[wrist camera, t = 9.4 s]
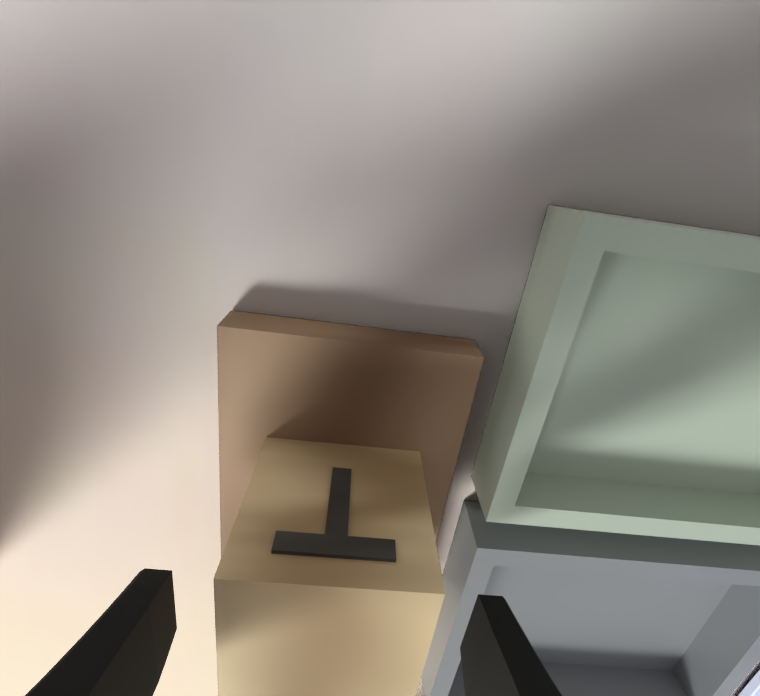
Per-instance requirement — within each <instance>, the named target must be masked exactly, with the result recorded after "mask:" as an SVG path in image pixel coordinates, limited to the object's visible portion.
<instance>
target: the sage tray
mask: <svg viewBox="0 0 760 696" xmlns="http://www.w3.org/2000/svg"><path fill="white" fill-rule="evenodd" d="M471 477H472V480H473V483H474V486H475V489H476V493H477V496H478V499H479V502H480V505H481V508H482V511H483V514H484V517H485V520H486V522H497V523H508V524H519V525H531V526H542V527H554V528H565V529H577V530H588V531H600V532H611V533H623V534H634V535H646V536H657V537H669V538H680V539H692V540H703V541H715V542H726V543H738V544H749V545H760V236H755V235H748V234H741V233H735V232H728V231H721V230H715V229H708V228H701V227H695V226H688V225H681V224H674V223H668V222H661V221H654V220H648V219H641V218H634V217H627V216H621V215H614V214H607V213H601V212H594V211H587V210H581V209H574V208H567V207H560V206H554V205H548V209H547V212H546V216H545V219H544V223H543V226H542V230H541V233H540V237H539V240H538V244H537V247H536V251H535V254H534V258H533V261H532V265H531V268H530V272H529V275H528V279H527V282H526V286H525V289H524V293H523V296H522V300H521V303H520V306H519V310H518V313H517V317H516V320H515V324H514V327H513V331H512V334H511V338H510V341H509V345H508V348H507V352H506V355H505V359H504V362H503V366H502V369H501V373H500V376H499V380H498V383H497V387H496V390H495V394H494V397H493V401H492V404H491V408H490V411H489V415H488V418H487V422H486V425H485V429H484V432H483V436H482V439H481V443H480V446H479V450H478V453H477V457H476V460H475V464H474V467H473V471H472V474H471Z"/></svg>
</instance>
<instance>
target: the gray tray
mask: <svg viewBox="0 0 760 696" xmlns="http://www.w3.org/2000/svg"><path fill="white" fill-rule="evenodd" d="M442 580H443V586H444V592H445V596H444V600H443V603H442V607H441V610H440V614H439V617H438V621H437V624H436V628H435V631H434V635H433V638H432V642H431V645H430V649H429V652H428V656H427V659H426V663H425V666H424V670H423V673H422V683H423V693H424V696H465V689H464V681H463V672H462V662H461V653H460V646H461V643H462V640H463V637H464V634H465V631H466V628H467V625H468V623H469V620H470V617H471V614H472V611H473V608H474V605H475V602H476V599H477V596H478V594H481V595H494V596H503V597H504V598H505V600H506V601H507V603H508V605H509V607H510V608H511V610H512V612H513V614H514V615H515V617H516V619H517V621H518V623H519V624H520V626H521V628H522V630H523V631H524V633H525V635H526V637H527V638H528V640H529V642H530V643H531V645H532V647H533V648H534V650H535V652H536V654H537V655H538V657H539V659H540V660H541V662H542V664H543V665H544V667H545V669H546V670H547V672H548V674H549V675H550V677H551V679H552V680H553V682H554V683H555V685H556V686H557V688H558V690H559V691H560V693H561V694H562V696H730V695H731V694H732V692H733V691H734V690H735V689H736V687H737V686H738V685H739V684H740V683H741V681H742V680H743V679H744V678H745V676H746V675H747V674H748V673H749V671H750V670H751V669H752V668H753V667H754V665H755V664H756V663H757V662H758V660H759V659H760V545H749V544H738V543H726V542H715V541H703V540H692V539H680V538H669V537H657V536H646V535H634V534H623V533H611V532H600V531H588V530H577V529H565V528H554V527H542V526H531V525H519V524H508V523H497V522H486V520H485V517H484V514H483V511H482V508H481V505H480V502H477V501H466V500H464V502H463V506H462V509H461V513H460V516H459V520H458V523H457V527H456V530H455V534H454V537H453V541H452V544H451V548H450V551H449V555H448V558H447V562H446V565H445V569H444V572H443V576H442Z"/></svg>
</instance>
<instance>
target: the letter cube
mask: <svg viewBox="0 0 760 696" xmlns="http://www.w3.org/2000/svg"><path fill="white" fill-rule="evenodd" d="M444 596H445V592H444V586H443V580H442V574H441V569H440V563H439V557H438V552H437V546H436V540H435V534H434V529H433V523H432V517H431V512H430V506H429V500H428V494H427V489H426V483H425V477H424V472H423V466H422V460H421V454H420V451H410V450H399V449H388V448H378V447H367V446H356V445H345V444H334V443H324V442H313V441H302V440H291V439H280V438H269V437H266V439H265V442H264V444H263V447H262V450H261V452H260V455H259V458H258V460H257V463H256V466H255V469H254V471H253V474H252V477H251V479H250V482H249V485H248V487H247V490H246V493H245V496H244V498H243V501H242V504H241V506H240V509H239V512H238V514H237V517H236V520H235V523H234V525H233V528H232V531H231V533H230V536H229V539H228V541H227V544H226V547H225V549H224V552H223V555H222V558H221V560H220V563H219V566H218V568H217V571H216V574H215V576H214V601H215V625H216V650H217V675H218V696H416V694H417V691H418V687H419V684H420V680H421V677H422V673H423V670H424V666H425V663H426V659H427V656H428V652H429V649H430V645H431V642H432V638H433V635H434V631H435V628H436V624H437V621H438V617H439V614H440V610H441V607H442V603H443V600H444Z"/></svg>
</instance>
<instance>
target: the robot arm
mask: <svg viewBox="0 0 760 696" xmlns="http://www.w3.org/2000/svg"><path fill="white" fill-rule="evenodd" d="M176 629H177V626H176V614H175V602H174V590H173V578H172V571H169V570H156V569H143V570H142V571H140V572H139V573H138V574H137V576H136V577H135V578H134V579H133V580H132V581H131V583H130V584H129V585H128V586H127V587H126V588H125V590H124V591H123V592H122V593H121V594H120V595H119V596H118V598H117V599H116V600H115V601H114V602H113V603H112V604H111V605H110V607H109V608H108V609H107V610H106V611H105V612H104V613H103V614H102V616H101V617H100V618H99V619H98V620H97V621H96V622H95V623H94V624H93V625H92V626H91V628H90V629H89V630H88V631H87V632H86V633H85V634H84V635H83V636H82V637H81V638H80V639H79V640H78V642H77V643H76V644H75V645H74V646H73V647H72V648H71V649H70V650H69V651H68V652H67V653H66V654H65V655H64V656H63V657H62V658H61V659H60V661H59V662H58V663H57V664H56V665H55V666H54V667H53V668H52V669H51V670H50V671H49V672H48V673H47V674H46V675H45V676H44V677H43V678H42V679H41V680H40V681H39V682H38V683H37V684H36V685H35V686H34V687H33V688H32V689H31V690H30V691H29V692H28V693H27V694H26V695H25V696H153V693H154V691H155V689H156V686H157V684H158V682H159V679H160V676H161V673H162V670H163V668H164V665H165V662H166V659H167V656H168V653H169V650H170V647H171V644H172V641H173V638H174V635H175V632H176ZM460 653H461V662H462V672H463V681H464V689H465V696H562V694H561V693H560V691H559V690H558V688H557V686H556V685H555V683H554V682H553V680H552V679H551V677H550V675H549V674H548V672H547V670H546V669H545V667H544V665H543V664H542V662H541V660H540V659H539V657H538V655H537V654H536V652H535V650H534V648H533V647H532V645H531V643H530V642H529V640H528V638H527V637H526V635H525V633H524V631H523V630H522V628H521V626H520V624H519V623H518V621H517V619H516V617H515V615H514V614H513V612H512V610H511V608H510V607H509V605H508V603H507V601H506V600H505V598H504V597H503V596H494V595H481V594H478V596H477V599H476V602H475V605H474V608H473V611H472V614H471V617H470V620H469V623H468V625H467V628H466V631H465V634H464V637H463V640H462V643H461V646H460ZM738 696H760V670H759V671H758V672H757V673H756V674H755V676H754V677H753V678H752V679H751V680H750V682H749V683H748V684H747V685H746V686H745V688H744V689H743V690H742V691H741V693H740V694H739V695H738Z"/></svg>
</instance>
